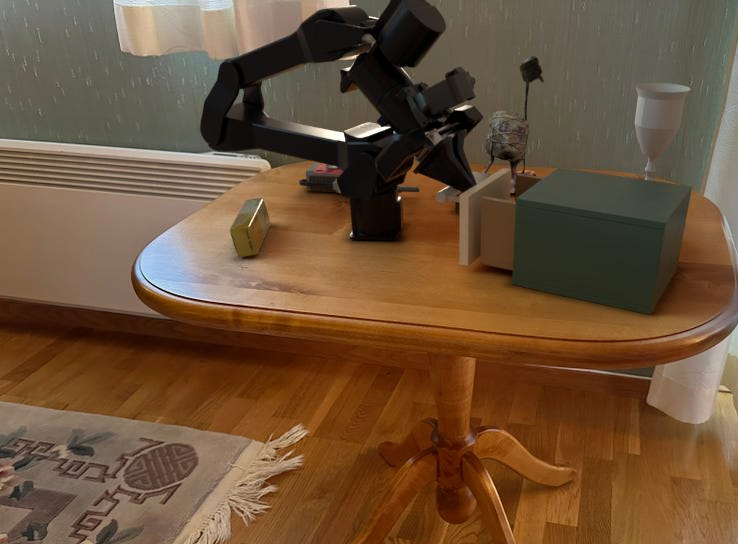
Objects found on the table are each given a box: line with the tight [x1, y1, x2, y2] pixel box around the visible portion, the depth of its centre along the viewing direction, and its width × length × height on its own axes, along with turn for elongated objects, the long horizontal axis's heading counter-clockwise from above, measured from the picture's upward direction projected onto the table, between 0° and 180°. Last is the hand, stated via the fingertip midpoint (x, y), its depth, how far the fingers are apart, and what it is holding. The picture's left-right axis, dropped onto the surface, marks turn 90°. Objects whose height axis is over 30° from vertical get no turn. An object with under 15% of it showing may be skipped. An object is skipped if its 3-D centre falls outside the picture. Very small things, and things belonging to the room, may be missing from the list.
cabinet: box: [511, 167, 693, 316], centre depth 80 cm, size 17×14×11 cm
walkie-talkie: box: [298, 163, 420, 194], centre depth 110 cm, size 9×4×20 cm
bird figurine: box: [482, 54, 544, 194], centre depth 107 cm, size 8×11×20 cm
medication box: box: [229, 197, 272, 258], centre depth 91 cm, size 12×3×4 cm, turn 6°
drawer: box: [435, 167, 546, 272], centre depth 84 cm, size 20×12×9 cm, turn 63°
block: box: [454, 170, 494, 214], centre depth 102 cm, size 5×5×5 cm
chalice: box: [634, 82, 691, 181], centre depth 97 cm, size 7×7×18 cm
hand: (475, 193), depth 85 cm, fingers closed, pressing on drawer
